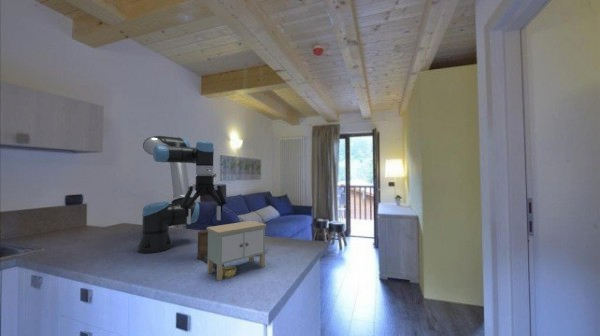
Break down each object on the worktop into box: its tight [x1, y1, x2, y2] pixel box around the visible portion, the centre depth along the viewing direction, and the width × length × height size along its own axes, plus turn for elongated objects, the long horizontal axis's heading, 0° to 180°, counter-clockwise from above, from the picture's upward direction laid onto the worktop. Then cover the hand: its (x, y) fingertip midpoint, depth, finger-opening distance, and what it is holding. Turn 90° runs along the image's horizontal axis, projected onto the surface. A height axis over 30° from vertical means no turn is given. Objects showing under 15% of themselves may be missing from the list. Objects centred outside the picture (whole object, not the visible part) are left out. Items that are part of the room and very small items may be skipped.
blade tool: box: [197, 229, 225, 271], centre depth 105 cm, size 20×4×12 cm, turn 43°
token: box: [222, 265, 237, 279], centre depth 92 cm, size 6×6×2 cm
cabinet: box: [206, 220, 267, 282], centre depth 98 cm, size 12×21×18 cm, turn 133°
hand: (204, 221), depth 111 cm, fingers open, 13 cm apart
